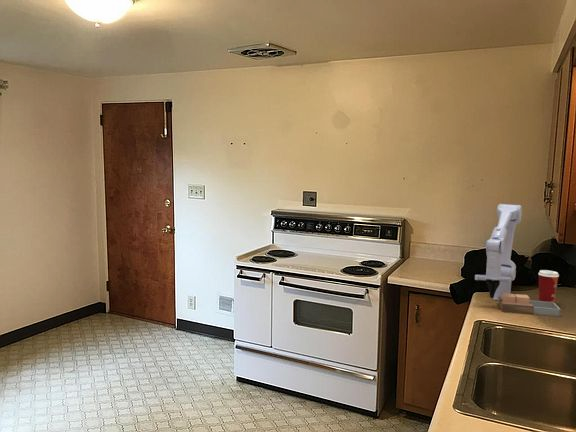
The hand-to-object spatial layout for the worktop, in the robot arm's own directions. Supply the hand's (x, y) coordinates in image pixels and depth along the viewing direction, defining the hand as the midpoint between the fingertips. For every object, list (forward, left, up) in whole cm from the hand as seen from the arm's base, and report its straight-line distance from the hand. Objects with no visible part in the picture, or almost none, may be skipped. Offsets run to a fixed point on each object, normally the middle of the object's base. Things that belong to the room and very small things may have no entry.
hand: (491, 297), depth 214 cm
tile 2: (0, +12, -1) cm, 12 cm away
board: (0, +10, -4) cm, 11 cm away
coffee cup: (-12, +25, -5) cm, 28 cm away
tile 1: (0, +7, -1) cm, 7 cm away
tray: (0, +21, -4) cm, 21 cm away
